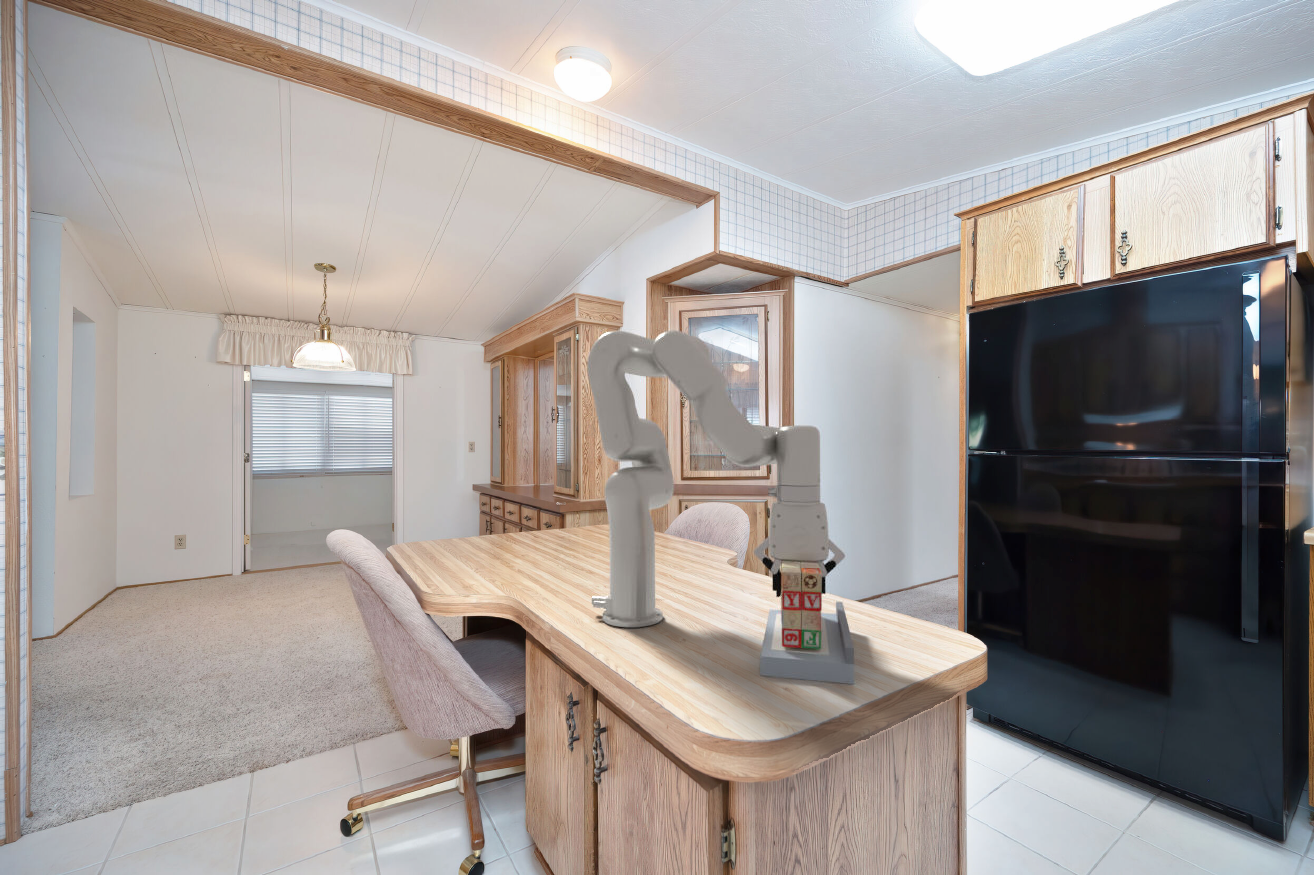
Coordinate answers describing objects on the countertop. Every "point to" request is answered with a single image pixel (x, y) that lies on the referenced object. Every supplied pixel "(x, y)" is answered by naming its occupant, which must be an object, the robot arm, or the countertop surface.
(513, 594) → the countertop surface
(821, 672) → the tray
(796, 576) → the stack of blocks
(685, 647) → the countertop surface
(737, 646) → the countertop surface
